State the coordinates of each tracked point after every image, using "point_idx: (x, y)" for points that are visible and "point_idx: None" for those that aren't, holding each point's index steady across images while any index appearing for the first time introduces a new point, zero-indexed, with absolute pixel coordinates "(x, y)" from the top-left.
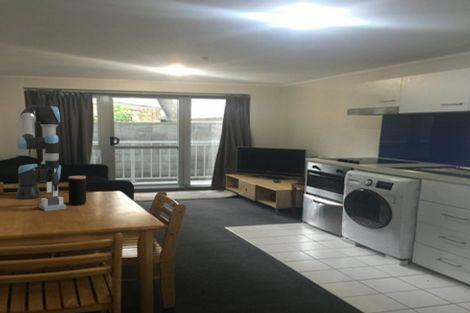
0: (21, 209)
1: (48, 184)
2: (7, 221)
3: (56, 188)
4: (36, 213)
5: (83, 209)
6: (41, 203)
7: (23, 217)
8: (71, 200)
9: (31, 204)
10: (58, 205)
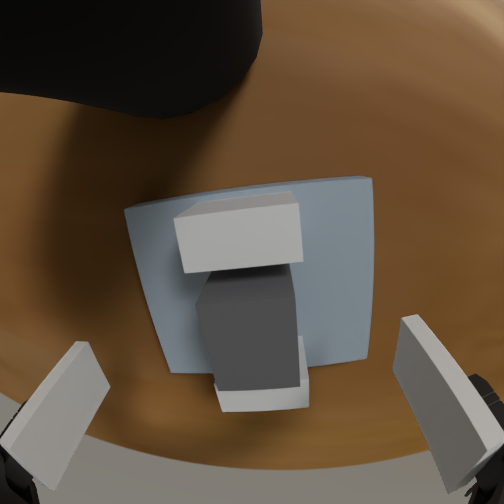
0: (223, 430)
1: (56, 454)
2: None
3: (493, 408)
4: (396, 381)
5: (452, 71)
6: None
7: None
8: (216, 86)
9: None
10: (341, 250)
